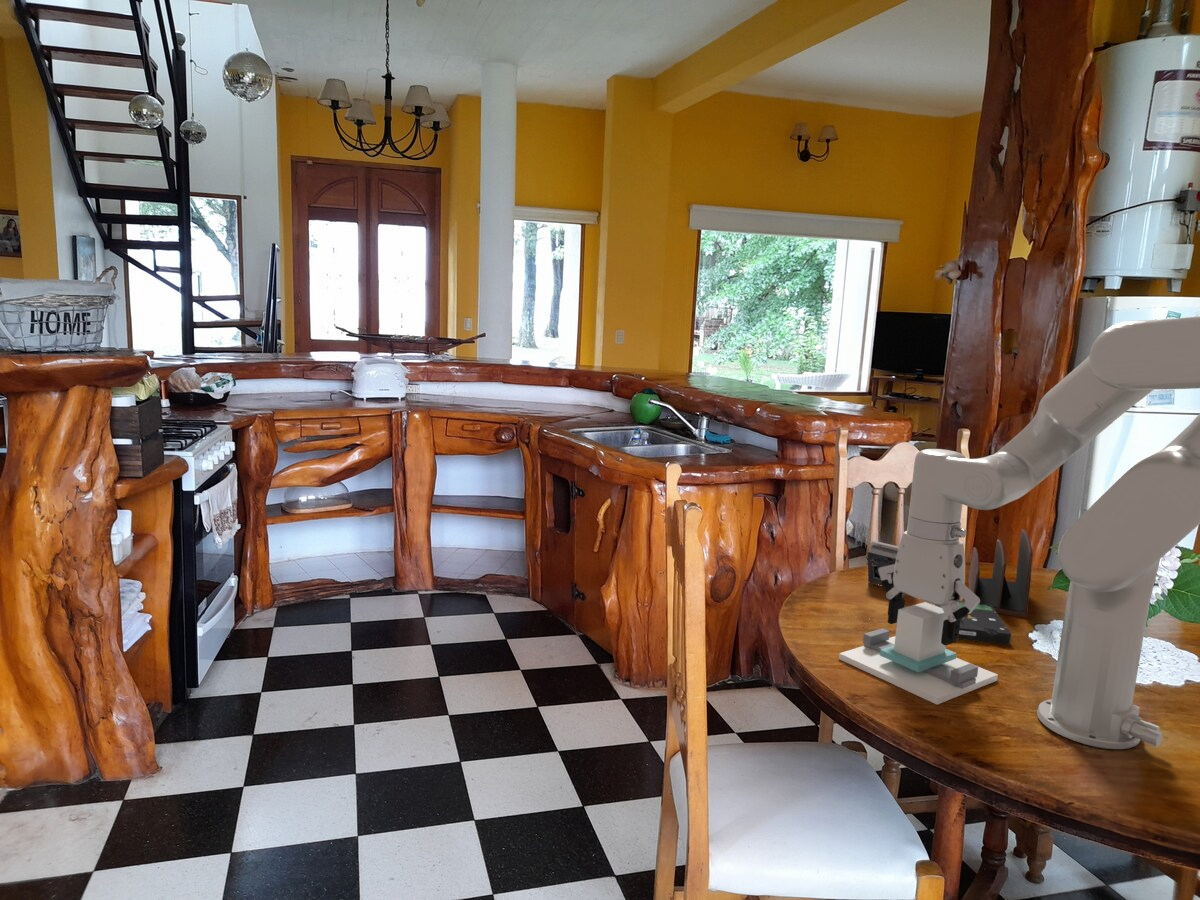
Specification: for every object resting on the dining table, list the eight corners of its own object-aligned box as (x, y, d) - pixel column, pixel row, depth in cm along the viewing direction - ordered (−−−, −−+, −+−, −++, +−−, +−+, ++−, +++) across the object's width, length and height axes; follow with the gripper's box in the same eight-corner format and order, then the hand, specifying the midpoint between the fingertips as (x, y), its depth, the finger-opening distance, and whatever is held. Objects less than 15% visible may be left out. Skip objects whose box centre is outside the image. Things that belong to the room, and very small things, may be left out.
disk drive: (1011, 648, 145) (989, 617, 159) (1013, 633, 144) (991, 603, 158) (948, 641, 147) (932, 610, 161) (950, 626, 146) (934, 597, 160)
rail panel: (997, 680, 130) (999, 660, 129) (937, 704, 121) (939, 683, 120) (899, 640, 144) (901, 621, 144) (838, 659, 135) (840, 639, 135)
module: (945, 652, 132) (950, 611, 131) (918, 661, 128) (923, 618, 127) (918, 641, 136) (923, 601, 135) (892, 650, 132) (896, 608, 131)
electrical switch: (915, 589, 172) (918, 547, 170) (904, 597, 168) (907, 555, 166) (872, 578, 178) (874, 538, 176) (861, 586, 174) (863, 544, 172)
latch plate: (955, 658, 132) (956, 653, 132) (918, 672, 127) (918, 666, 126) (917, 643, 138) (918, 637, 138) (879, 655, 132) (880, 649, 132)
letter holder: (1018, 588, 176) (1027, 524, 174) (1026, 619, 158) (1036, 548, 156) (967, 580, 180) (975, 518, 177) (970, 610, 162) (979, 540, 159)
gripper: (999, 539, 124) (985, 647, 127) (900, 513, 138) (889, 610, 141) (970, 546, 119) (957, 657, 122) (871, 518, 133) (861, 618, 136)
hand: (921, 632), depth 132 cm, fingers open, 9 cm apart
